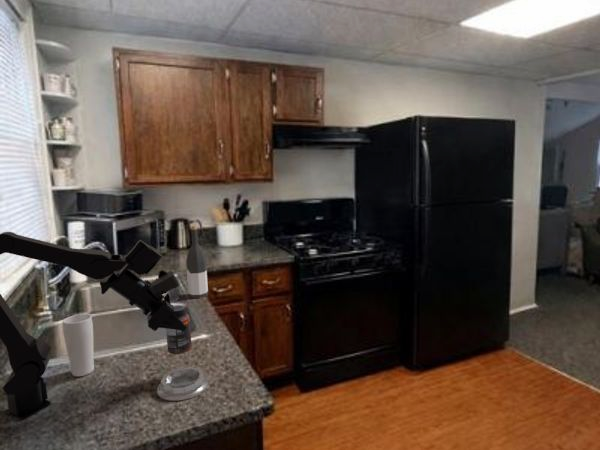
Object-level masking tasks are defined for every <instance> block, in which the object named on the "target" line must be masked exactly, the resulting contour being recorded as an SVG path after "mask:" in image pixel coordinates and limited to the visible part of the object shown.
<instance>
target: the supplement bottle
mask: <svg viewBox="0 0 600 450" xmlns="http://www.w3.org/2000/svg"><path fill="white" fill-rule="evenodd" d="M173 307H174V314H175V315H176V316H177V317H178V318H179V319H180V320H181V321H182V323H183V324H184V325H185V326H186V327H187V328H186V329H185V330H184V331H181V330H175V329H167V328H165V334H166V335H165V336H166V347H167V353H169V354H171V355H181V354H186V353H187V352H189V351H190V350H192V335H191V334H192V333H191V318H190V316H189V314H188V313H186V308H185V306H183V305H173Z"/></svg>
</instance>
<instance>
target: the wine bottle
mask: <svg viewBox="0 0 600 450" xmlns="http://www.w3.org/2000/svg"><path fill="white" fill-rule="evenodd" d="M190 231H191V232H190V233H191V246H190V247H189V250H188V252H187V256H186V262H185V263H186V264H185V265H186V275H187V276H186V278H187V292H188V293H187V294H188V297H189V298H190V297H192V298H191V299H201V298H200V297H203V298H205V297H208V295H209V287H208V285H209V284H208V269H207V259H206V255H205V253H204V251H203V248H202V247H201V246H200V244H199V238H198V237H199V236H198V229H197V225H191V228H190Z"/></svg>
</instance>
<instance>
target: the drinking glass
mask: <svg viewBox="0 0 600 450" xmlns="http://www.w3.org/2000/svg"><path fill="white" fill-rule="evenodd" d="M62 332H63V333H62V334H63V339H64V343H65V348H66V352H67V356H68V362H69V365H70V372H71V373H70V374H71V375H72V376H73V377H84V376H86V375H90V374H91V373H93V372H94V370H95V363H94V360H95V358H94V356H95V354H94V324H93V317H92V315H91V314H88V313H81V314H75V315H71V316H68V317H65V318H63V320H62Z"/></svg>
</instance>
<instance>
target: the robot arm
mask: <svg viewBox="0 0 600 450" xmlns="http://www.w3.org/2000/svg"><path fill="white" fill-rule="evenodd" d="M6 253H7V254H10V255H11V254H12V255H16V256H20V257H22V258H23V257H25V258H29V259H32V260H37V261H41V262H46V263H50V264H54V265H57V266H63V267H67V268H69V269H71V270H73V271H75V272H76V273H78V274H81V275H83V276H86V277H87V278H91V279H93V280H97V281H98V280H100V281H99V285H100V291H101V292H100V293H101V295H105V294H106V292H108V291H109V289H111V291H114V292H115V293H116V294H117V295H120V297H122V298H124V299H126V300H127V301H128V304H129V305H130V306H132V307H134V306H135V307H137V308H138V309H139V310H141V311H142V314H143V315H145V316H146V319H147V327H148V328H149V329H151V330H153V332H156V331H157V330H158V329H166V328H167V329H175V330H181V331H184V330H185V329H186V328H187V327H186V326H185V325H184V324H183V323H182V321H181V320H180V319H179V318H178V317H177V316H176V315H175V314H174V307H173V306H174V305H173V304H172V303H171V296H170V294H169V293H168V292H170V291H171V290H173V289H176V288H178V287H179V286H180V282H179V281H178V279H177V277H176V275H175V273H174V272H173V271H170V270H169V271H167V270H165V269H161V270H159V271H158V272H157V278H155V280H153V281H149V280H148V279H145V280H144V279H142V278H141V277H139V276H141V275H142V276H143V275H148V274H149V273H150V272H151V271H152V270H153V268H154V267H156V265H158V264H159V262H160V261H161V260H162V259H163V258H164V256H163V255H162V254H161V253H160V252H159V251H158V249H156V248H154V247H153V246H152V245H149V244H148V243H147V242H144V241H143V239H139V240H138V241H137V242H136V243H135V245H134V246H133V248H131V250H130V251H129V252H128V253H126V254H111V253H110V252H109V251H106V250H102V249H92V248H91V249H90V248H73V247H68V246H65V245H60V244H56V243H53V242H48V241H44V240H40V239H36V238H32V237H29V236H24V235H20V234H17V233H14V232H13V231H5V232H2V233H0V255H2V254H6ZM107 277H108V278H107ZM105 278H106V279H105ZM164 294H166V295H164ZM0 341H1V343H2V344H3V345H4V348H5V349H6V351H7V356H8V357H7V358H8V362H9V366H10V367H11V369H12V371H11V372H10V374H9V376H8V378H7V380H6V381H5V383H4V384H3V386H2V390H3V391H4V393H5V394H6V399H7V407H8V408H7V409H6V410H5V411H4V414H5V415H7V416H9V417H13V418H16V419H18V420H21V421H23V420H25V419H27V418H29V417H31V416H32V415H33V414H36V413H37V412H39V411H41V410H43V409H44V408H47V407H48V406H49V405H51V404H52V402H51V400H48V398H49V397H48V389H47V383H46V382H45V381H44V377H43V375H44V374H45V372H46V369H47V366H48V364H49V362H50V359H51V356H52V355H51V349H52V347H51V346H49V345H48V344H47V343H46V340H45V339H44V336H43V335H42V334H40V335H39V336H37V337H34V336H32V335H31V334H29V333H28V332H27V331H26V328H25V327H24V326H23V325H22V323H21V322H20V320H19V318H17V316H16V315H15V314H14V312H13V310H12V309H11V307H10V306H9V305H8V303H7V302H6V299H4V297H3V295H2V293H0Z"/></svg>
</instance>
